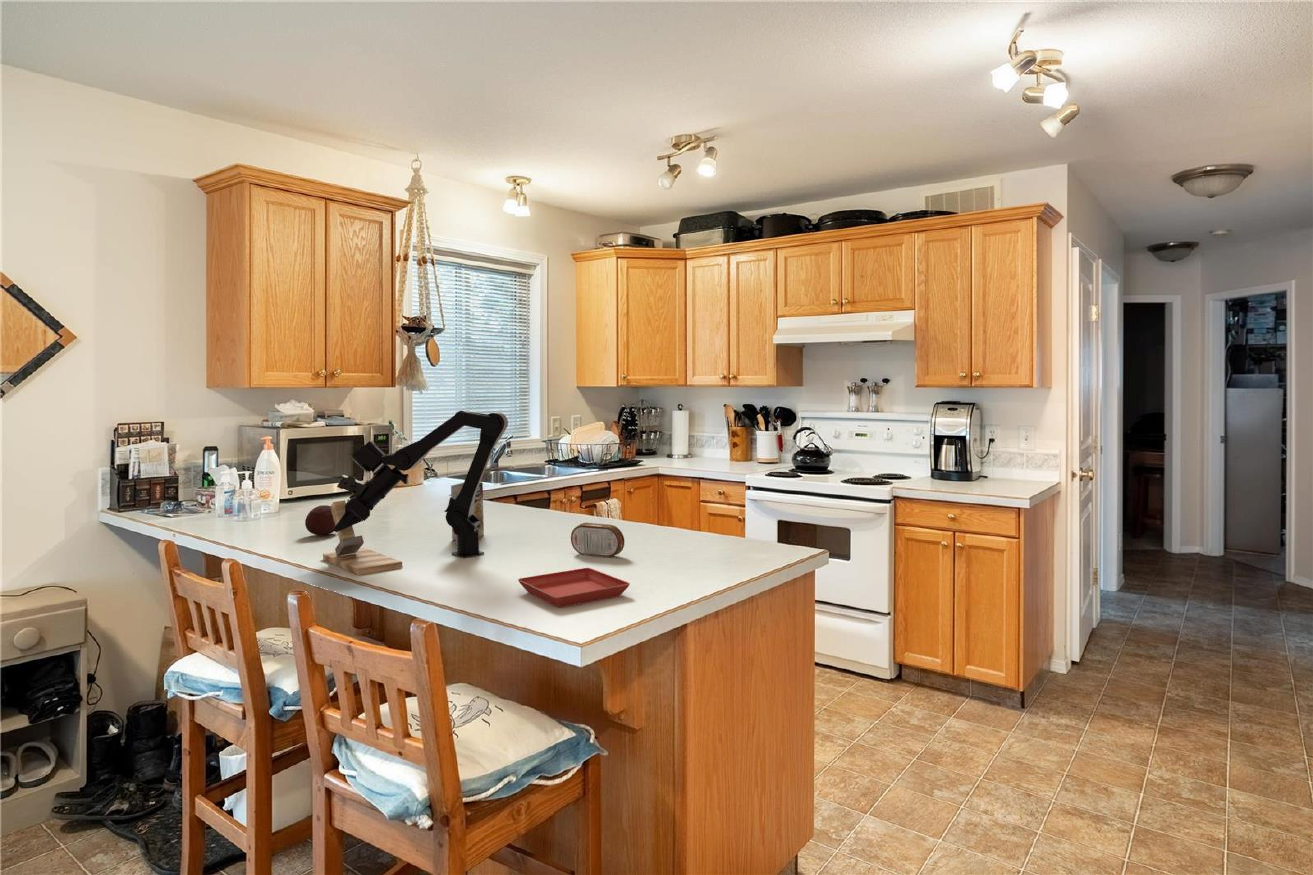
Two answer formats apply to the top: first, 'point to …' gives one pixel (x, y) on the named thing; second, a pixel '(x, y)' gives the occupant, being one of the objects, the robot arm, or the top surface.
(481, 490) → the coffee box
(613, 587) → the plant saucer
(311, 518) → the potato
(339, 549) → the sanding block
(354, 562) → the board
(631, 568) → the top surface
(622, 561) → the top surface
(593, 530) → the tin
